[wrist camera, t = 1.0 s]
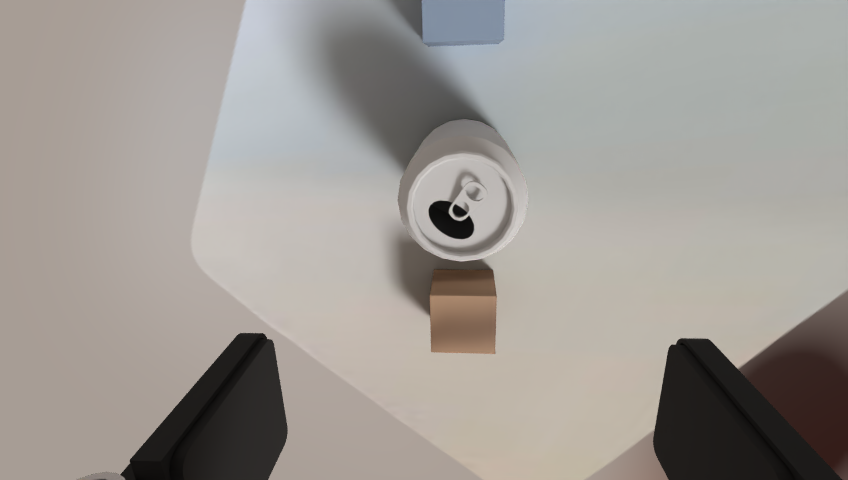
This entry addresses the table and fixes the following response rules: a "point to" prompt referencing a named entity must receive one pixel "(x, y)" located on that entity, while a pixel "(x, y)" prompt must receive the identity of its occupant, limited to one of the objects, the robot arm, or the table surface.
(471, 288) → the walnut block
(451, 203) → the can
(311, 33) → the table surface
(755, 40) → the table surface
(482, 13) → the slate block
